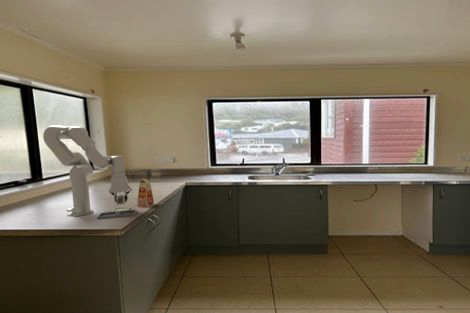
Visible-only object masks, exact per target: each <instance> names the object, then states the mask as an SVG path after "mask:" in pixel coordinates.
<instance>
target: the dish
mask: <svg viewBox="0 0 470 313" xmlns="http://www.w3.org/2000/svg"><path fill="white" fill-rule="evenodd" d="M127 210H131V206H130V205H129V206H119V207H117V206H116V207H114V208H113V209H112V210H111V211H110V212H116V211H119V212H120V211H127Z"/></svg>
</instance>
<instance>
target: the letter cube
mask: <svg viewBox="0 0 470 313" xmlns="http://www.w3.org/2000/svg"><path fill="white" fill-rule="evenodd" d="M116 202H117V203H116ZM115 203H116V205H124V204H125V205H126V203H127V201H126V202H125V194H120V195H119V194H118V195H117V197H116V201H115Z"/></svg>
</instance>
